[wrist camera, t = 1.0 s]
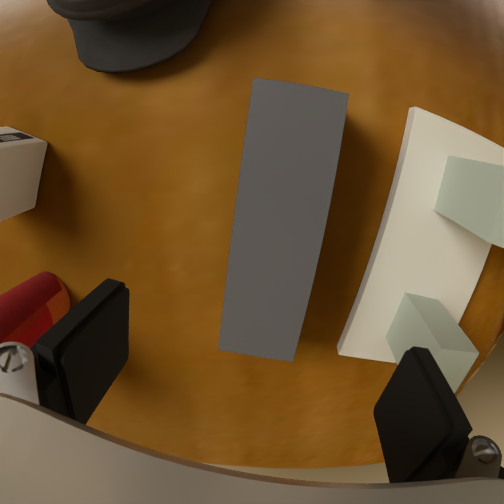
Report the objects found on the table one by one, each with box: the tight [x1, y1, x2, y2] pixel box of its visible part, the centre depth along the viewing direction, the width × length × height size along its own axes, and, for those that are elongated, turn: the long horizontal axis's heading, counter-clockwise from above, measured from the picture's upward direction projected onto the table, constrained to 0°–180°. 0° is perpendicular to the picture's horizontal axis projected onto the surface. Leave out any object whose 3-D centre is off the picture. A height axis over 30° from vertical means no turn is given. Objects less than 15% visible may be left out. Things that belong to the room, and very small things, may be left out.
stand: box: [337, 107, 504, 393], centre depth 22 cm, size 24×12×10 cm, turn 168°
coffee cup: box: [0, 272, 71, 348], centre depth 26 cm, size 8×8×15 cm
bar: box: [218, 78, 349, 362], centre depth 25 cm, size 20×6×7 cm, turn 172°
